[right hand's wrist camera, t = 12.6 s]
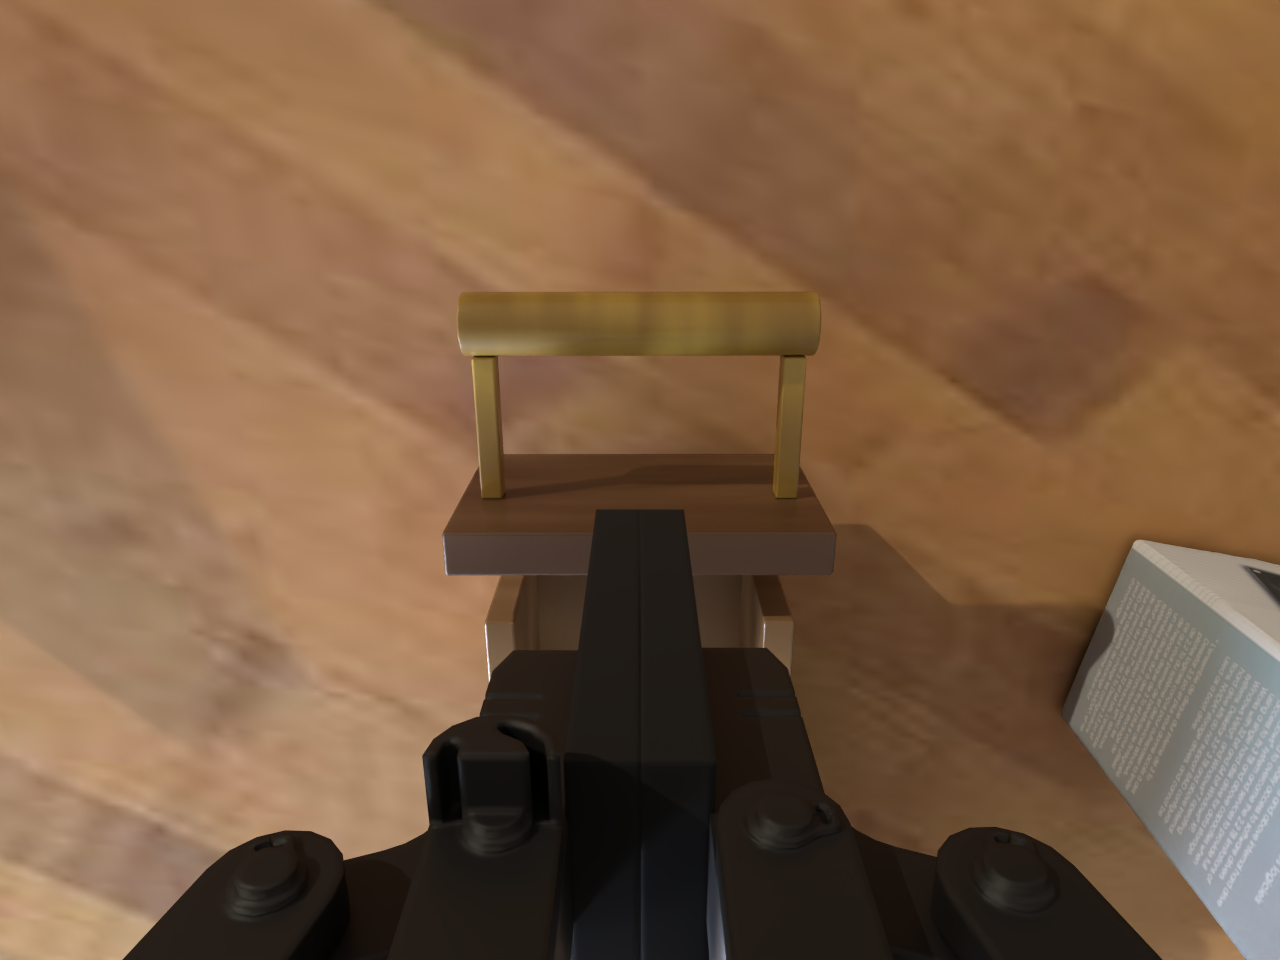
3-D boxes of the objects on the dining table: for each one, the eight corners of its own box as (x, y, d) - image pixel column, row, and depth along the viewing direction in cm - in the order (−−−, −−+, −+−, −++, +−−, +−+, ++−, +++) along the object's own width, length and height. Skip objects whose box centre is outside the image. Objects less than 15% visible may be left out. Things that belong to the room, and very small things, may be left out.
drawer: (472, 275, 25) (420, 308, 19) (805, 275, 25) (856, 307, 19) (512, 877, 33) (485, 1031, 27) (767, 877, 33) (794, 1031, 27)
